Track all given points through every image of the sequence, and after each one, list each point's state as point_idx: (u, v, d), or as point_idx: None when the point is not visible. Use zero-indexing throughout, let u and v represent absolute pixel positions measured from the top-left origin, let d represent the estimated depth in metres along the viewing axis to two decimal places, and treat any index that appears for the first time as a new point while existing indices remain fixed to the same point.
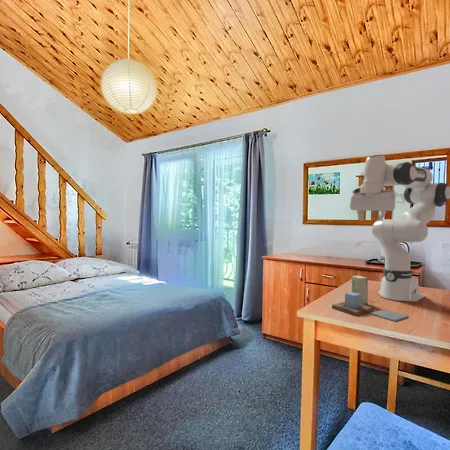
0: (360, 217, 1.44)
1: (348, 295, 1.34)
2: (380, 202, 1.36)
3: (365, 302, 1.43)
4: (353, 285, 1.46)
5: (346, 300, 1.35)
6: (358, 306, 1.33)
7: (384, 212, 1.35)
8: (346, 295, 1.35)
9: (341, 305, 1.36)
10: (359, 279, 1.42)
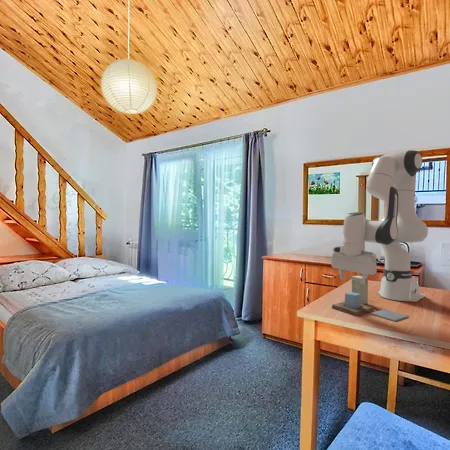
0: (342, 277, 1.38)
1: (348, 295, 1.34)
2: (361, 266, 1.29)
3: (365, 302, 1.43)
4: (353, 285, 1.46)
5: (346, 300, 1.35)
6: (358, 306, 1.33)
7: (366, 275, 1.29)
8: (346, 295, 1.35)
9: (341, 305, 1.36)
10: None
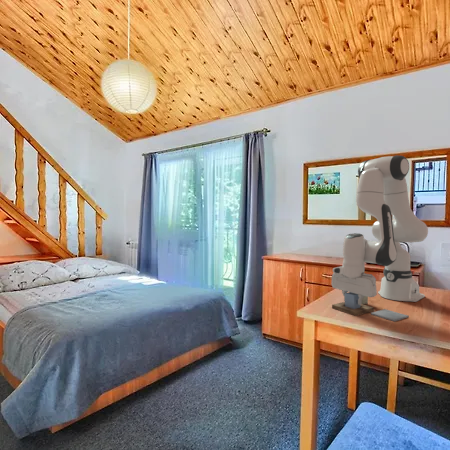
0: None
1: (348, 295, 1.34)
2: (361, 288, 1.29)
3: (365, 302, 1.43)
4: None
5: (346, 300, 1.35)
6: (358, 306, 1.33)
7: (362, 296, 1.31)
8: (346, 295, 1.35)
9: (341, 305, 1.36)
10: None
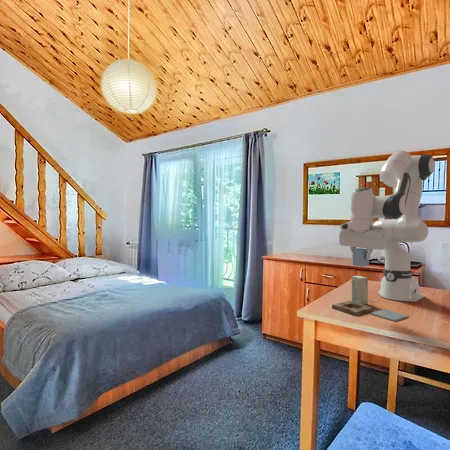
0: None
1: (356, 250, 1.32)
2: (370, 241, 1.27)
3: (365, 302, 1.43)
4: (353, 285, 1.46)
5: (354, 255, 1.33)
6: (366, 261, 1.31)
7: (371, 250, 1.28)
8: (354, 250, 1.33)
9: (341, 305, 1.36)
10: (359, 279, 1.42)
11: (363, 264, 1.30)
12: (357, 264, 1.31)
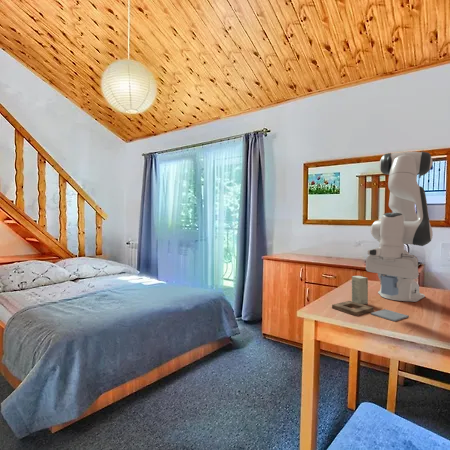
0: None
1: (385, 278, 1.25)
2: (401, 269, 1.21)
3: (365, 302, 1.43)
4: (353, 285, 1.46)
5: (383, 283, 1.26)
6: (396, 290, 1.25)
7: (401, 279, 1.22)
8: (383, 278, 1.26)
9: (341, 305, 1.36)
10: (359, 279, 1.42)
11: (393, 293, 1.24)
12: (386, 293, 1.25)
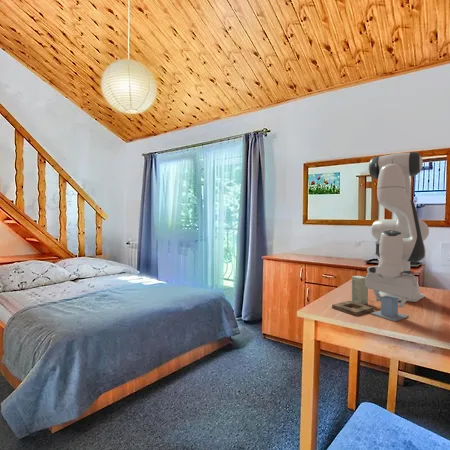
0: (378, 298, 1.30)
1: (385, 299, 1.26)
2: (400, 288, 1.21)
3: (365, 302, 1.43)
4: (353, 285, 1.46)
5: (382, 304, 1.27)
6: (396, 310, 1.26)
7: (405, 299, 1.21)
8: (382, 299, 1.27)
9: (341, 305, 1.36)
10: (359, 279, 1.42)
11: (392, 314, 1.24)
12: (386, 313, 1.26)
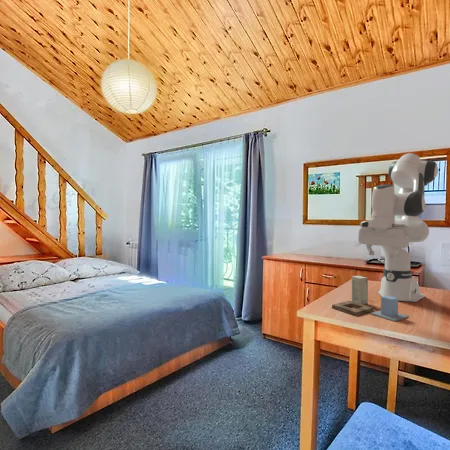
0: (370, 252, 1.33)
1: (385, 299, 1.26)
2: (392, 239, 1.24)
3: (365, 302, 1.43)
4: (353, 285, 1.46)
5: (382, 304, 1.27)
6: (396, 310, 1.26)
7: (397, 249, 1.24)
8: (382, 299, 1.27)
9: (341, 305, 1.36)
10: (359, 279, 1.42)
11: (392, 314, 1.24)
12: (386, 313, 1.26)
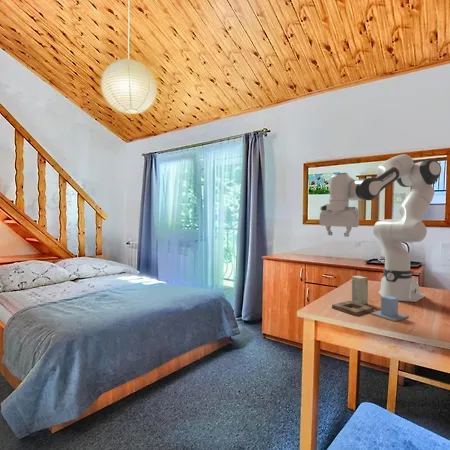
0: (329, 233, 1.51)
1: (385, 299, 1.26)
2: (345, 220, 1.42)
3: (365, 302, 1.43)
4: (353, 285, 1.46)
5: (382, 304, 1.27)
6: (396, 310, 1.26)
7: (349, 229, 1.42)
8: (382, 299, 1.27)
9: (341, 305, 1.36)
10: (359, 279, 1.42)
11: (392, 314, 1.24)
12: (386, 313, 1.26)
